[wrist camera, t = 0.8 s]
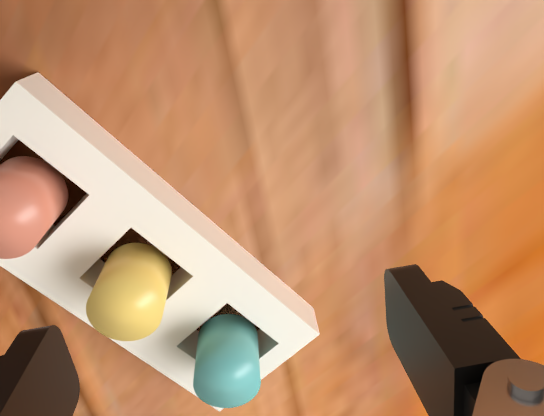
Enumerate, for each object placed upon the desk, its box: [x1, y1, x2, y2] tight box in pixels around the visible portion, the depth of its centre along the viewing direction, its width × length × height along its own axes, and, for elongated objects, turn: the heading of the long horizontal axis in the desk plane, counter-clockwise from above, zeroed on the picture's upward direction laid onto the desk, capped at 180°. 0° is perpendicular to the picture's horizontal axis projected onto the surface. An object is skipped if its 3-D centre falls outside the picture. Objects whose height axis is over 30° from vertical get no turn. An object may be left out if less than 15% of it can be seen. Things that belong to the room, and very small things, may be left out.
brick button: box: [0, 156, 68, 259], centre depth 25 cm, size 4×4×4 cm
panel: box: [0, 72, 320, 411], centre depth 31 cm, size 10×24×3 cm, turn 44°
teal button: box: [193, 314, 261, 408], centre depth 31 cm, size 4×4×4 cm
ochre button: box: [86, 243, 172, 341], centre depth 28 cm, size 4×4×4 cm
